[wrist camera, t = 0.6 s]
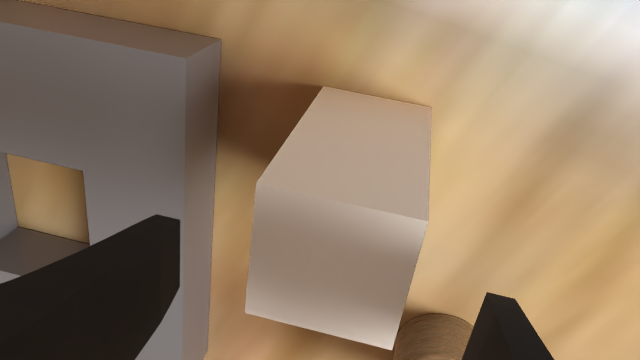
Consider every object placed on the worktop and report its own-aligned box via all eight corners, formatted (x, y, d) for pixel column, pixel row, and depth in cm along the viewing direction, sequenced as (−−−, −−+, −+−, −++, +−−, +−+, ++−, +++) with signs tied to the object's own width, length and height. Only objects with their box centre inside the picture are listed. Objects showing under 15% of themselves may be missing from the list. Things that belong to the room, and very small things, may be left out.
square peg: (407, 202, 20) (392, 350, 13) (309, 180, 21) (244, 312, 14) (431, 107, 18) (428, 221, 11) (323, 85, 19) (256, 183, 12)
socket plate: (207, 350, 26) (181, 398, 24) (-35, 286, 28) (-84, 324, 25) (221, 39, 19) (186, 58, 16) (-112, -25, 20) (-193, -17, 18)
